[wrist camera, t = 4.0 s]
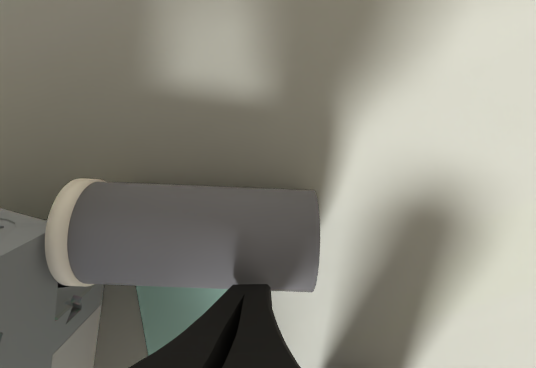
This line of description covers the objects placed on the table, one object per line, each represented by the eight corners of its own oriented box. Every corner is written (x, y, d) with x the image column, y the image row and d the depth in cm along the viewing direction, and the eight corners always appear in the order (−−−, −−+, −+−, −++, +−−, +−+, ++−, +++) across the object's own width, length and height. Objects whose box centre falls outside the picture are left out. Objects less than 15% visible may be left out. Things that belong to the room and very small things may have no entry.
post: (315, 317, 12) (49, 308, 12) (302, 266, 16) (105, 258, 16) (323, 202, 11) (39, 190, 11) (308, 179, 15) (101, 170, 15)
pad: (245, 391, 18) (245, 394, 18) (156, 389, 19) (155, 393, 19) (229, 235, 16) (229, 237, 16) (129, 238, 17) (127, 239, 16)
